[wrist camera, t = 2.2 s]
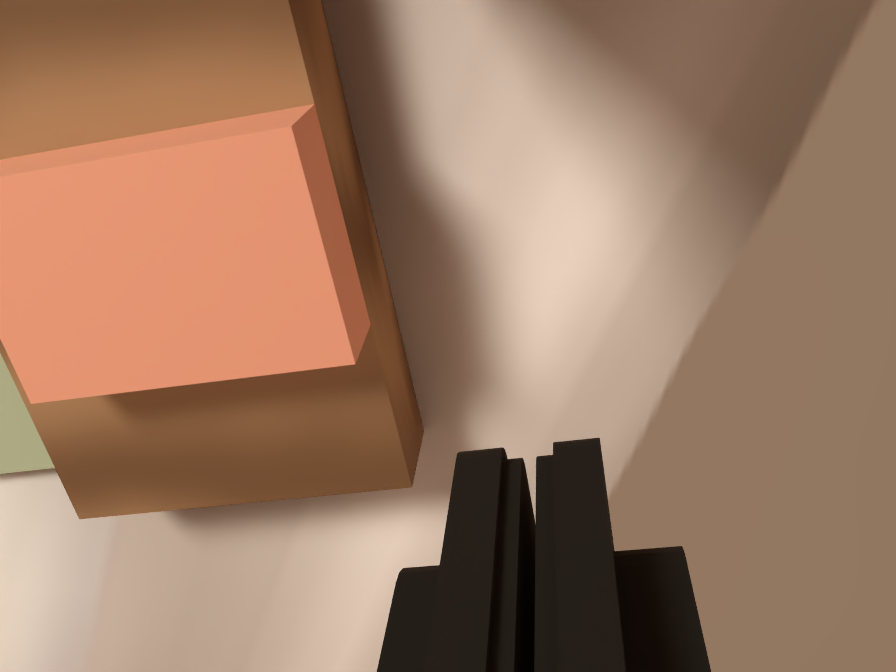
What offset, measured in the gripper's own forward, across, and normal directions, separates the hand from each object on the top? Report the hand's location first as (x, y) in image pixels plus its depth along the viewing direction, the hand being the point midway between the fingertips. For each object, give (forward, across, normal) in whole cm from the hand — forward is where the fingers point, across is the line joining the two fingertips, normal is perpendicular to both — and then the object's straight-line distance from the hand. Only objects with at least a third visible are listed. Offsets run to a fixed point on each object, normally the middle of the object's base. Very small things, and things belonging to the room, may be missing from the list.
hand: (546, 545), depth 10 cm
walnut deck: (+15, +10, -1) cm, 19 cm away
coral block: (+11, +10, -1) cm, 15 cm away
